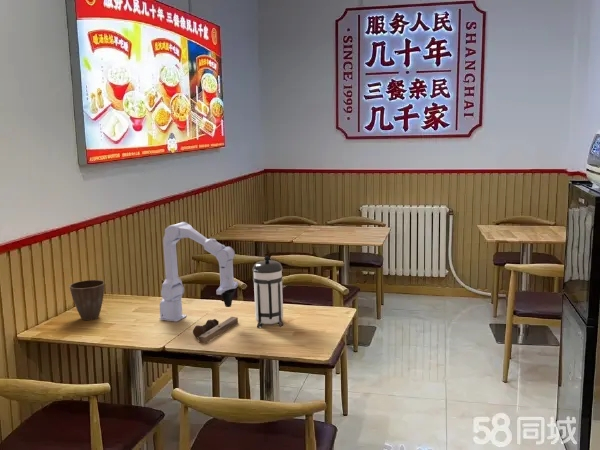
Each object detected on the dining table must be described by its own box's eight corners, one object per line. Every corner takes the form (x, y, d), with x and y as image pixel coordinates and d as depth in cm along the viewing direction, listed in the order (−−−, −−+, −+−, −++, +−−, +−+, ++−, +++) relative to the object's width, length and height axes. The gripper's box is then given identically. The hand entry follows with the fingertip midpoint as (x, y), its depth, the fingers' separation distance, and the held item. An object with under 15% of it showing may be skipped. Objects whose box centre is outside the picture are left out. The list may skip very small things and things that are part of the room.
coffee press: (243, 325, 253) (240, 257, 248) (269, 315, 264) (267, 250, 259) (271, 333, 241) (268, 262, 236) (298, 323, 252) (295, 255, 247)
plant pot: (68, 317, 270) (65, 283, 267) (100, 310, 279) (97, 278, 276) (78, 325, 258) (75, 290, 255) (111, 318, 267) (109, 284, 264)
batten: (199, 342, 233) (198, 336, 233) (231, 322, 257) (231, 316, 256) (205, 343, 232) (205, 337, 232) (237, 322, 256) (237, 316, 255)
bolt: (217, 330, 252) (200, 341, 238) (208, 324, 253) (190, 334, 239) (223, 319, 250) (206, 330, 237) (214, 313, 252) (196, 323, 238)
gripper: (226, 280, 241) (227, 312, 243) (243, 272, 254) (244, 302, 256) (211, 279, 244) (213, 310, 246) (229, 271, 257) (230, 301, 259)
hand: (228, 306), depth 251 cm, fingers closed
